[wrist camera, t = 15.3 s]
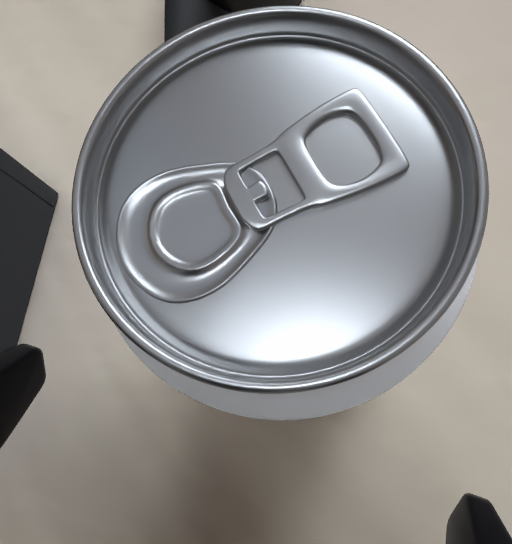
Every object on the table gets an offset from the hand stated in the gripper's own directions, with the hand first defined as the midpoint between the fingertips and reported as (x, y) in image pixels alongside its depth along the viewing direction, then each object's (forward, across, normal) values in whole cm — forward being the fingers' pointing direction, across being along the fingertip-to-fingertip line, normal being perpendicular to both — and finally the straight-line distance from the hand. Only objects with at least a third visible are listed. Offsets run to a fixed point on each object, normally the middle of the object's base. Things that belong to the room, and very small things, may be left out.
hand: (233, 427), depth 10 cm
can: (+8, 0, +3) cm, 9 cm away
